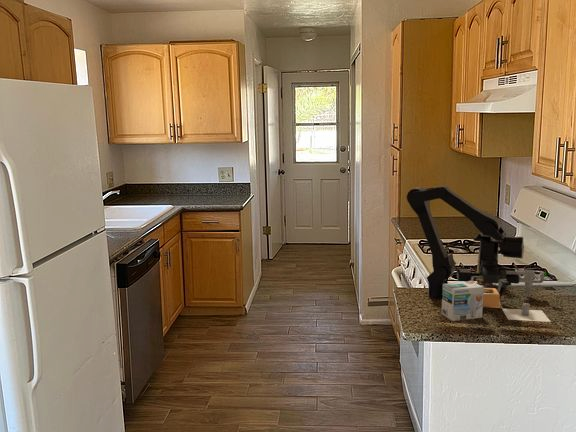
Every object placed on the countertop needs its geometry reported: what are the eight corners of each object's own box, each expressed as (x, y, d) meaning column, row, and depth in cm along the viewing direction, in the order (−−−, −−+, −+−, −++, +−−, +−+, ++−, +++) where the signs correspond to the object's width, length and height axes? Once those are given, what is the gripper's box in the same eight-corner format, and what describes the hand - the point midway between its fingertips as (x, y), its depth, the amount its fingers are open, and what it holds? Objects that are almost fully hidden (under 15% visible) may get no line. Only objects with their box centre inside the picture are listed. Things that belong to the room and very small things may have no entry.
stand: (473, 309, 177) (474, 294, 176) (469, 300, 186) (470, 286, 185) (502, 310, 176) (503, 295, 175) (497, 301, 184) (498, 287, 184)
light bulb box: (452, 324, 165) (454, 289, 163) (440, 316, 171) (441, 283, 169) (483, 320, 168) (485, 286, 166) (470, 313, 174) (471, 280, 172)
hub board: (508, 322, 166) (508, 308, 165) (501, 311, 175) (502, 297, 175) (550, 324, 164) (551, 310, 163) (541, 313, 173) (542, 299, 172)
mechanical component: (544, 301, 184) (546, 272, 183) (512, 299, 187) (514, 271, 185) (542, 298, 187) (544, 270, 186) (510, 297, 189) (512, 269, 188)
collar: (476, 305, 178) (477, 293, 177) (473, 298, 185) (473, 287, 184) (499, 306, 177) (499, 294, 176) (495, 299, 184) (495, 288, 183)
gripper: (461, 260, 172) (459, 307, 174) (525, 262, 169) (521, 311, 171) (457, 251, 183) (455, 296, 185) (516, 253, 179) (513, 299, 182)
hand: (485, 301), depth 181 cm, fingers closed on collar, 7 cm apart
